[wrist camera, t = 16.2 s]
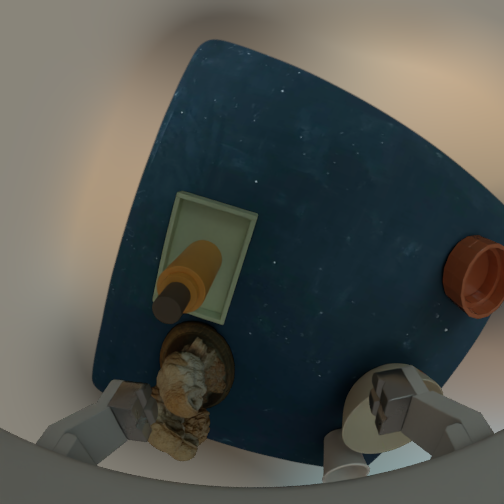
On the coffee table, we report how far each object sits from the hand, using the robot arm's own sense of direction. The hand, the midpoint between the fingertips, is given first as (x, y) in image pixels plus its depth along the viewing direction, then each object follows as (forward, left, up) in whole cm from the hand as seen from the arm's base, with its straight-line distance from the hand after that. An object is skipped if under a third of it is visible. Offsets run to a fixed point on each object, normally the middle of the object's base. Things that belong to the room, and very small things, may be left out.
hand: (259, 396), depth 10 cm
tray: (+3, -9, -30) cm, 31 cm away
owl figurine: (+21, -13, -30) cm, 38 cm away
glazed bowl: (+9, +31, -30) cm, 44 cm away
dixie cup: (+41, +10, -30) cm, 52 cm away
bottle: (+3, -9, -29) cm, 31 cm away
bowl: (+27, +16, -30) cm, 43 cm away
